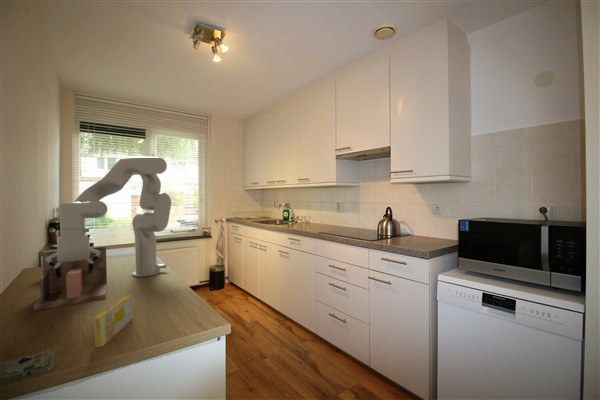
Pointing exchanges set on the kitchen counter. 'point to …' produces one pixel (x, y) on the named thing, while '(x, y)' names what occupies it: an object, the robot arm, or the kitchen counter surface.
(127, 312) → the candy box
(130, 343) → the kitchen counter surface
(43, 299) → the bookend
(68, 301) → the shelf
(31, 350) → the kitchen counter surface
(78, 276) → the book
